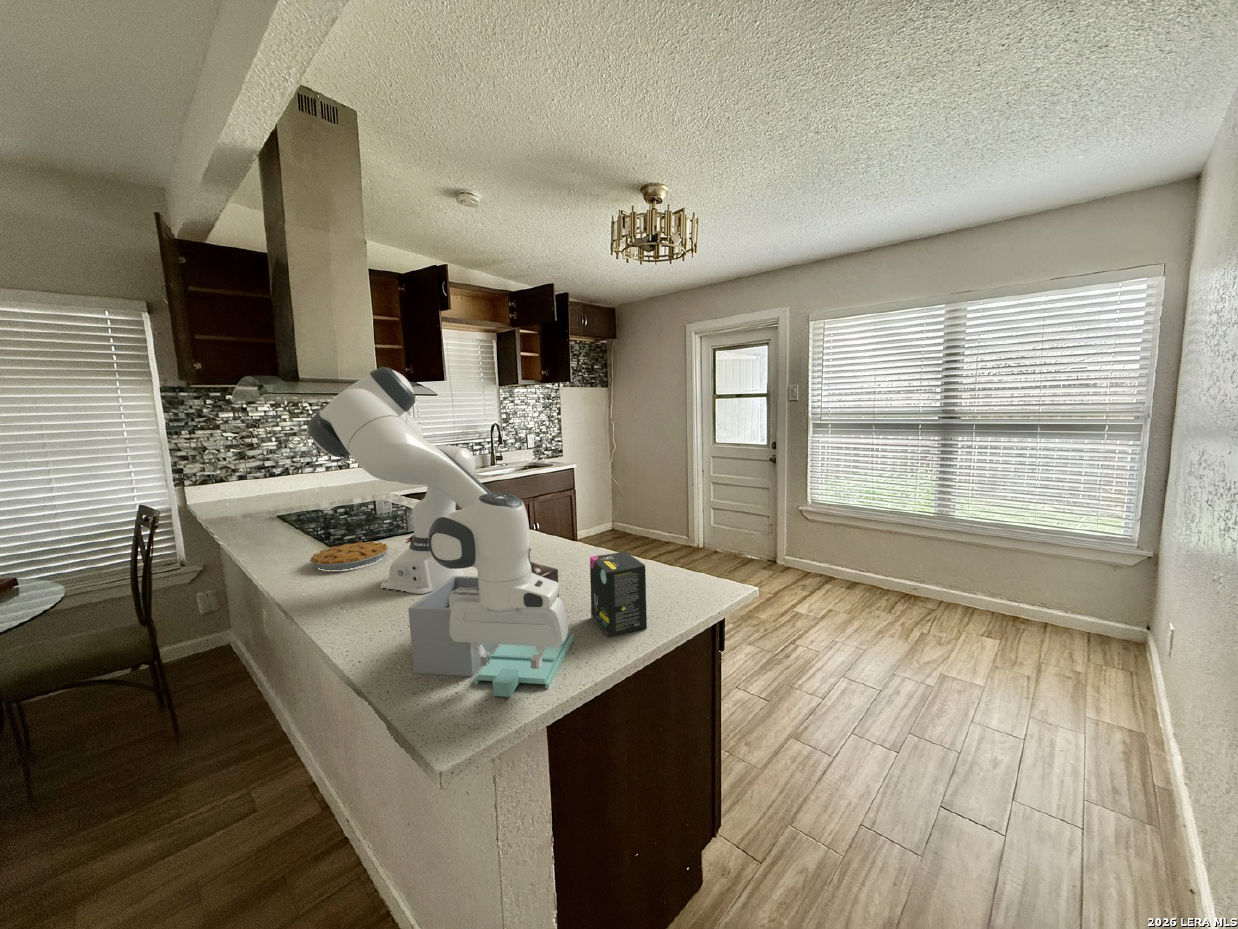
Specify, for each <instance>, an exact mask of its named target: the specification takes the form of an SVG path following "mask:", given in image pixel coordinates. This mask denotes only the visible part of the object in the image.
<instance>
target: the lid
mask: <svg viewBox="0 0 1238 929" xmlns="http://www.w3.org/2000/svg"><path fill="white" fill-rule="evenodd" d="M573 641H574V634H571V630H568V633H567V637H566V639H565V641H564V642H563V643H562V644H561V646H559V647H547V648H546V649H545V651H544V653H543V655H542V666H541V668H540V669H531V661H530V660H531V658H533V655H538V654H539V652H540V651H536V646H525V645H505V644H499V645H498V646H499V647H497V649H495V650H494V651H495V652H494V653H491V654H490V659H491V660H490V663H489V664H488V666H482V668H481V669H479V670H480V671H479V672H478V673H477V674H476V676H474V678H473V681H474V682H473V683H474V685H479V683H480V682H481V681H488V682H489V681H490V682H491V683H492V696H493V697H496V696H497V697H507V698H508V697H511V696H512V695H513V693H514V692H515V691H516V689H517V687H518V686H519V684H521V683H522V684H536V685H545V687H544V688H545V689H546V688H549V687H551V685H552V684H551V683H553V682H554V679H555V677H556V676H557V674H558V671H559V670H560V668H561V666H562V663H563V661H564V659H565V657H566V655H567V654H568V651H569V649H570V647H571V645H572V643H573ZM555 675H556V676H555ZM552 681H553V682H552ZM549 689H550V688H549Z"/></svg>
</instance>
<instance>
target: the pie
mask: <svg viewBox="0 0 1238 929" xmlns="http://www.w3.org/2000/svg"><path fill="white" fill-rule="evenodd" d="M388 550H389V546H387V544H386V543H383V542H375V541H371V540H370V541H368V542H355V543H344V544H343V545H339V546H330V548H328V549H322V550H319V552H318V553H314V554H313V556H311V557H310V559H309V562H310V563H312V564H313V565H314V566H316V567H317V568H320V569H324V570H343V569H350V568H355V567H358V566H362V565H366V564H370V563H373V562H376V561H377V560H379V559H380V558H383V557H384V558H385V556H384V555H386V553H387V552H388ZM384 558H383V559H384ZM316 567H315V568H316ZM317 568H316V569H317Z"/></svg>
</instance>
